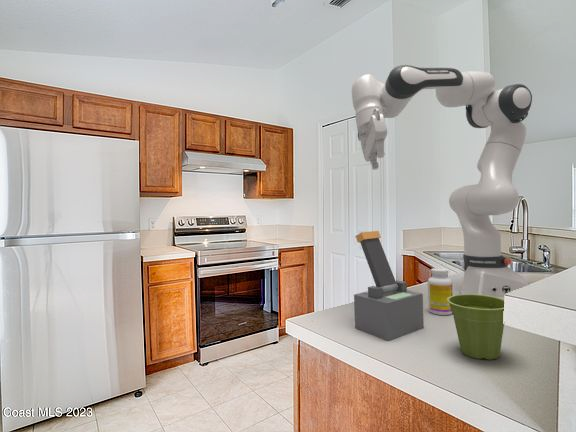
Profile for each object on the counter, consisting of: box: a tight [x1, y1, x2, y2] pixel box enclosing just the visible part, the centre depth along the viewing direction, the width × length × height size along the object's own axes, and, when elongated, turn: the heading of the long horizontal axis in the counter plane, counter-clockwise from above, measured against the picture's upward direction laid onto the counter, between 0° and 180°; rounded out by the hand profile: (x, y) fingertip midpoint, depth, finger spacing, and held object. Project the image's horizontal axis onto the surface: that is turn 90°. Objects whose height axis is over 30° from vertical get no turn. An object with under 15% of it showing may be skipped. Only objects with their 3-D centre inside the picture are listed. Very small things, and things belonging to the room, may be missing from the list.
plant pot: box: [447, 293, 505, 360], centre depth 70 cm, size 12×12×11 cm
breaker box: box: [353, 280, 425, 342], centre depth 86 cm, size 11×14×12 cm
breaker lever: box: [355, 230, 398, 294], centre depth 89 cm, size 3×7×17 cm, turn 123°
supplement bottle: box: [427, 267, 454, 316], centre depth 97 cm, size 7×7×13 cm
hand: (378, 163), depth 101 cm, fingers open, 8 cm apart
